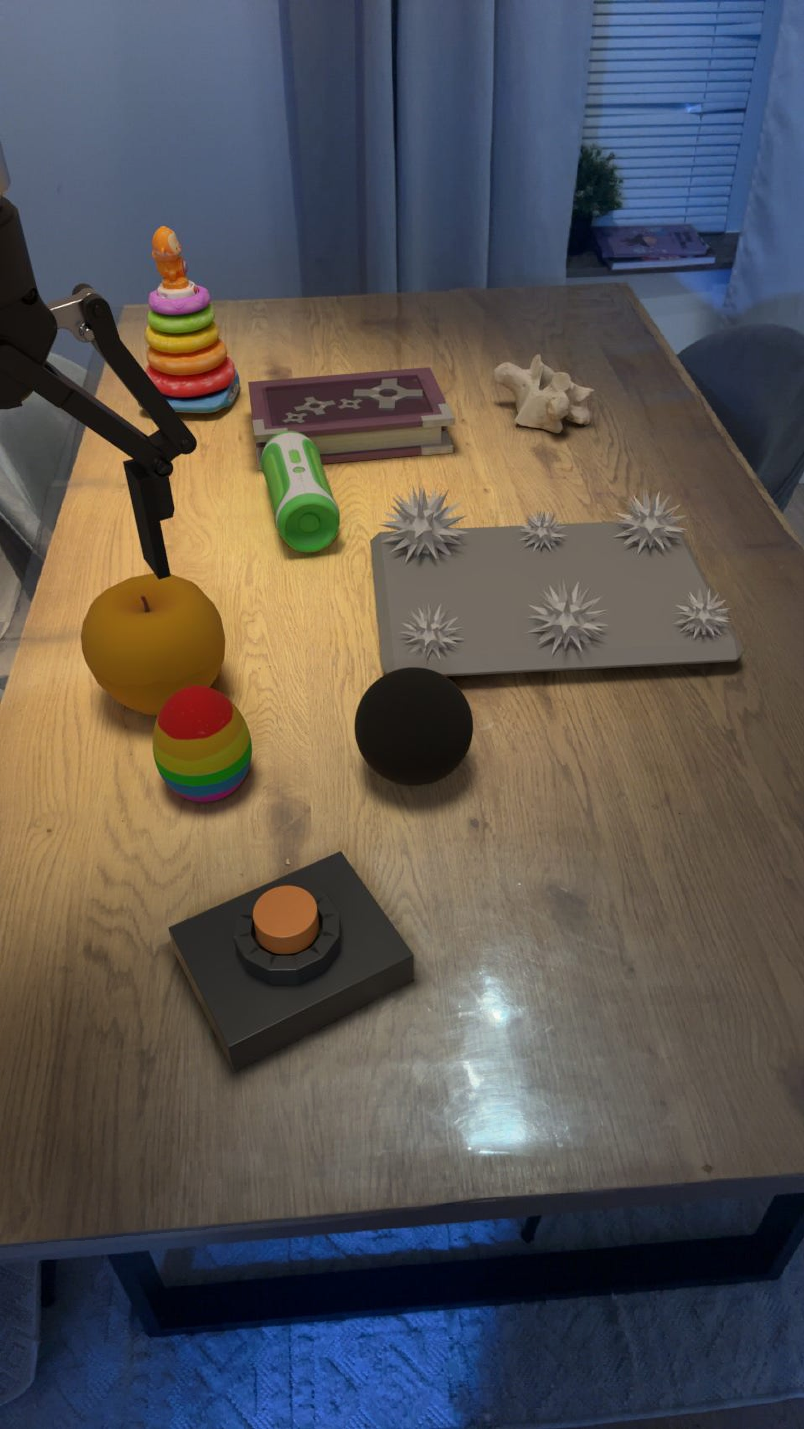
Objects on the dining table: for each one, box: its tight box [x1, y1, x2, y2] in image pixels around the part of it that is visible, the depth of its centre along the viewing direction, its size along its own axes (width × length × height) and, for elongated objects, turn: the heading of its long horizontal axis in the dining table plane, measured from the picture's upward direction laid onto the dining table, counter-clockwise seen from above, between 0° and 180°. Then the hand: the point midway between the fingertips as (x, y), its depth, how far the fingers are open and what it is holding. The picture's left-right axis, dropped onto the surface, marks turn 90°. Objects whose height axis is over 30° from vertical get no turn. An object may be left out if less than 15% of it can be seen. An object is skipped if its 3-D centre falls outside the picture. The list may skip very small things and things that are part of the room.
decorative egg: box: [152, 685, 253, 803], centre depth 85 cm, size 8×8×10 cm
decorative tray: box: [369, 482, 745, 678], centre depth 103 cm, size 35×26×10 cm
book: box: [247, 366, 456, 471], centre depth 134 cm, size 25×16×5 cm, turn 100°
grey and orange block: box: [167, 850, 415, 1073], centre depth 72 cm, size 14×11×5 cm
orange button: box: [253, 886, 319, 955], centre depth 70 cm, size 4×4×2 cm
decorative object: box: [492, 353, 595, 434], centre depth 136 cm, size 9×14×8 cm, turn 47°
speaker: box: [261, 431, 341, 553], centre depth 118 cm, size 18×7×8 cm, turn 13°
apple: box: [80, 572, 226, 717], centre depth 93 cm, size 13×13×11 cm
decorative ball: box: [354, 667, 474, 787], centre depth 85 cm, size 10×10×10 cm
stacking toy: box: [137, 225, 241, 414], centre depth 137 cm, size 14×13×23 cm
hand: (45, 601), depth 59 cm, fingers open, 13 cm apart
